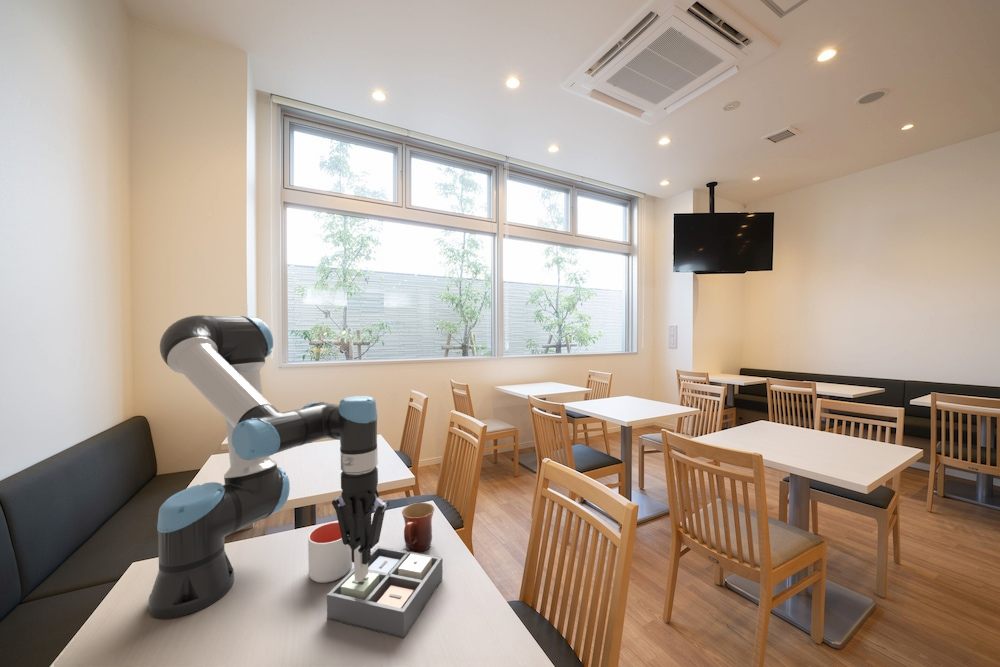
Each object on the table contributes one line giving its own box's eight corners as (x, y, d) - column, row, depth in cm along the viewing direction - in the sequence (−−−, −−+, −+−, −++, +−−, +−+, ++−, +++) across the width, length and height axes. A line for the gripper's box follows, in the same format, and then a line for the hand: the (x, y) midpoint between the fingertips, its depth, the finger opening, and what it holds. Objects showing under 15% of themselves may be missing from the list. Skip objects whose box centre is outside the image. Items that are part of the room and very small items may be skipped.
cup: (352, 579, 90) (352, 538, 90) (306, 590, 87) (306, 547, 86) (352, 555, 100) (352, 518, 99) (310, 564, 96) (310, 526, 96)
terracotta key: (376, 619, 77) (376, 602, 77) (391, 600, 82) (391, 584, 82) (400, 625, 75) (400, 608, 75) (413, 605, 81) (413, 589, 81)
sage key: (340, 602, 79) (340, 585, 79) (357, 584, 85) (357, 569, 84) (363, 607, 78) (363, 590, 78) (379, 589, 83) (379, 573, 83)
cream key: (398, 582, 85) (398, 567, 85) (410, 567, 90) (410, 553, 90) (420, 587, 84) (420, 571, 83) (431, 571, 89) (431, 557, 89)
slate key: (366, 584, 87) (365, 569, 87) (379, 569, 93) (379, 555, 93) (386, 588, 86) (386, 573, 86) (399, 573, 91) (399, 559, 91)
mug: (410, 536, 109) (410, 501, 109) (439, 539, 107) (438, 504, 107) (390, 561, 97) (390, 522, 97) (422, 565, 95) (421, 525, 95)
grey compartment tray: (327, 619, 78) (326, 594, 78) (377, 566, 95) (377, 545, 95) (403, 638, 73) (403, 612, 73) (442, 578, 90) (442, 557, 90)
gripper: (321, 472, 79) (324, 583, 79) (375, 478, 75) (377, 594, 75) (345, 460, 86) (347, 561, 86) (395, 465, 82) (397, 570, 83)
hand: (361, 576), depth 81 cm, fingers closed
